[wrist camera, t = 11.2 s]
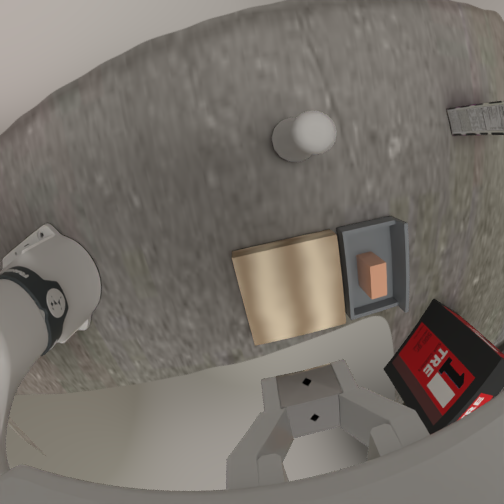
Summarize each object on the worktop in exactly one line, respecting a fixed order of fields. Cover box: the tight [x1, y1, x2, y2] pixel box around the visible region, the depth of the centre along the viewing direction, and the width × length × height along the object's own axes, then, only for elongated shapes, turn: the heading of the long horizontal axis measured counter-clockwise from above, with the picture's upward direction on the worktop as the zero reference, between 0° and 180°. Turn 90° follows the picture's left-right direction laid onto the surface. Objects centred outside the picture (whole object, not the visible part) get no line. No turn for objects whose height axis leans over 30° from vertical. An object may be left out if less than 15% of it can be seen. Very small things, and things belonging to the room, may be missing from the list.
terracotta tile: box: [356, 251, 387, 299], centre depth 39 cm, size 5×5×2 cm
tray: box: [337, 216, 409, 320], centre depth 40 cm, size 9×14×5 cm, turn 13°
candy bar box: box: [446, 101, 504, 136], centre depth 28 cm, size 11×5×16 cm, turn 107°
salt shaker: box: [272, 111, 337, 162], centre depth 30 cm, size 6×6×13 cm
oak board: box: [232, 229, 346, 345], centre depth 41 cm, size 14×14×3 cm
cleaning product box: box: [384, 299, 504, 435], centre depth 38 cm, size 16×9×20 cm, turn 153°
